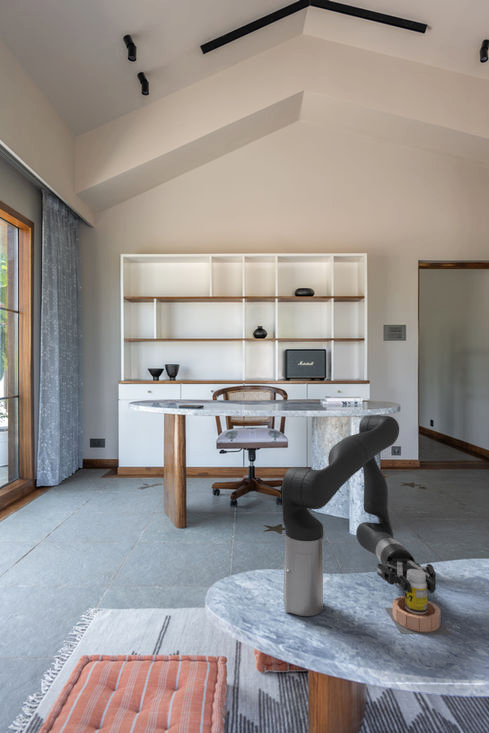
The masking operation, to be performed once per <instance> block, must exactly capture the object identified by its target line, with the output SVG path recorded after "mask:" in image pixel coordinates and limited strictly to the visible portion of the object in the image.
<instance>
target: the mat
mask: <svg viewBox="0 0 489 733" xmlns="http://www.w3.org/2000/svg"><path fill="white" fill-rule="evenodd" d="M384 610H385V611H386V613H387V614H388V616H389V617H390V619H391V620H392V622H393V624H394V625H395V627H396V628H397V630H398V632H400V634H402V635H452V633H451V631H450V630H449V629H448V628H447V627H446V625H445V624H444V623H443V621H440V628H439V629H438V630H436V631H434V632H428V633H424V632H416V631H412V630H409V629H406V628H404V627H402V626H401V625H399V624H398V623H397V622H396V621H395V620H394V618H393V614H392V607H384Z"/></svg>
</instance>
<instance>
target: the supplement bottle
mask: <svg viewBox="0 0 489 733" xmlns="http://www.w3.org/2000/svg"><path fill="white" fill-rule="evenodd" d="M407 580H408V581H409V582H410V584H411V592H410V593H407V592H406V591H405V590H404V593H405V594H404V596H405V607H406V609H407V610H408V611H409V612H411V613H414V614H425V613H426V612H427V600H428V589H427V583H426V582H425V580H426V578H425V573H424V572H423V571H420V570H417V569H409V570H407Z"/></svg>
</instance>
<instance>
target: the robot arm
mask: <svg viewBox="0 0 489 733" xmlns="http://www.w3.org/2000/svg"><path fill="white" fill-rule="evenodd" d="M399 434H400V425H399V423H398V420H397V419H395V417H392V416H390V415H365V416H363V417H362V418H361V420H360V422H359V426H358V433H355V434H354V433H353V434H352V435H348V436H346V437H344V438H343V439H341V440H339V441H338V442H337V443H335V444H334V445H333V446H332V447H331V448H330V450H329V453H328V457H327V459H328V460H327V461H328V465H326V467H324V468H321V469H313V468H307V467H301V466H292V467H290V468H289V469H287V470H286V472H285V473H284V475H283V479H282V483H281V501H282V502H281V504H282V505H281V506H282V522H283V525H284V528H285V532H284V533H285V534H284V535H285V536H284V537H285V538H284V540H285V541H284V543H285V544H284V545H285V546H284V562H283V594H282V596H283V600H282V601H283V605H284V609H285V613H286V614H287V613H290V614H293V615H296V616H300V617H312V616H317V615H319V614H320V613H322V611H323V609H324V608H323V607H324V606H323V605H324V525H323V523H322V522H321V521H320V520H319V519H318V518H316V517H315V516H314V515H313V514H312V513H311V512H310V511H309V509H310V510H319V509H322V508H324V507H326V506H327V504H329V502H330V501H331V500H332V499H333V497H335V495H336V494H337V493H338V492H339V490H340V489H341V488H342V486H344V485H345V484H346V482H348V480H350V479H351V478H352V477H353V476H354V475H355V474H357V472H359V471H360V470H361V469H362V471H363V510H364V512H365V513H366V514H369V515H371V516H372V515H373V516H375V517H376V518H377V519H378V522H370V521H369V522H368V521H364V522H360V523H359V525H358V526H357V527H356V532H355V533H356V534H355V535H356V539H357V541H358V543H359V545H360V546H361V547H362V548H363V549H365V550H367V551H368V552H369V553H372V554H373V555H375V556H376V558H377V560H378V561H379V563H377V566H376V567H377V574H376V575H377V576H379V577H380V578H381V579H382V580H384V581H385V582H387V583H388V584H389V585H395V584H397V586H399V587H400V588H401V589H402V590H403V591H404V592H405V591H406V592H407V593H410V592H411V584H410V582H409V581H408V580H407V570H409V569H417V570H420V571H423V572H424V573H425V578H426V580H425V582H426V583H427V591H428V592H429V593H431V594H435V591H436V585H437V582H436V581H437V580H436V579H437V573H436V570H435V569H434V566H433V564H430V563H427V564H426V566H421V564H419V563H418V562H416V560H415V558H414V556H413V555H412V554H411V553H410V552H409V551H408V550H407V549H406V547H404V546H403V545H402V544H401V542H399V541H398V540H396V539H395V537H394V532H393V528H392V524H391V520H390V515H389V510H388V507H389V504H388V502H389V501H388V500H389V499H388V498H389V497H388V495H389V494H388V493H389V492H388V491H389V490H388V483H387V481H386V478H385V476H384V475H383V472H382V470H381V469H380V467H379V464H378V462H377V461H376V460H377V459H376V458H375V457H376V456H377V455H378V454H380V453H381V452H383V451H385V450H386V449H388V448H389V447H391V446H393V445H394V444H395V443H396V441H397V439H398V438H399Z"/></svg>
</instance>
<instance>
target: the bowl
mask: <svg viewBox="0 0 489 733" xmlns="http://www.w3.org/2000/svg"><path fill="white" fill-rule="evenodd" d="M391 608H392V614H393V618H394V620H395V621H396V622H397V623H398V624H399V625H401V626H402V627H404V628H406V629H409V630H412V631H416V632H424V633H428V632H434V631H436V630H438V629H439V628H440V621H441V620H442V619H441V609H440V608H439V606H438V605H437V604H436V603H434V602H432V601H429V600H428V599H427V612H426V613H425V614H414V613H411V612H409V611H408V610H407V609H406V607H405V595H403V596H402V595H401V596H398V597H395V598H394V600H393V601H392V606H391ZM441 622H442V621H441Z"/></svg>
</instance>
